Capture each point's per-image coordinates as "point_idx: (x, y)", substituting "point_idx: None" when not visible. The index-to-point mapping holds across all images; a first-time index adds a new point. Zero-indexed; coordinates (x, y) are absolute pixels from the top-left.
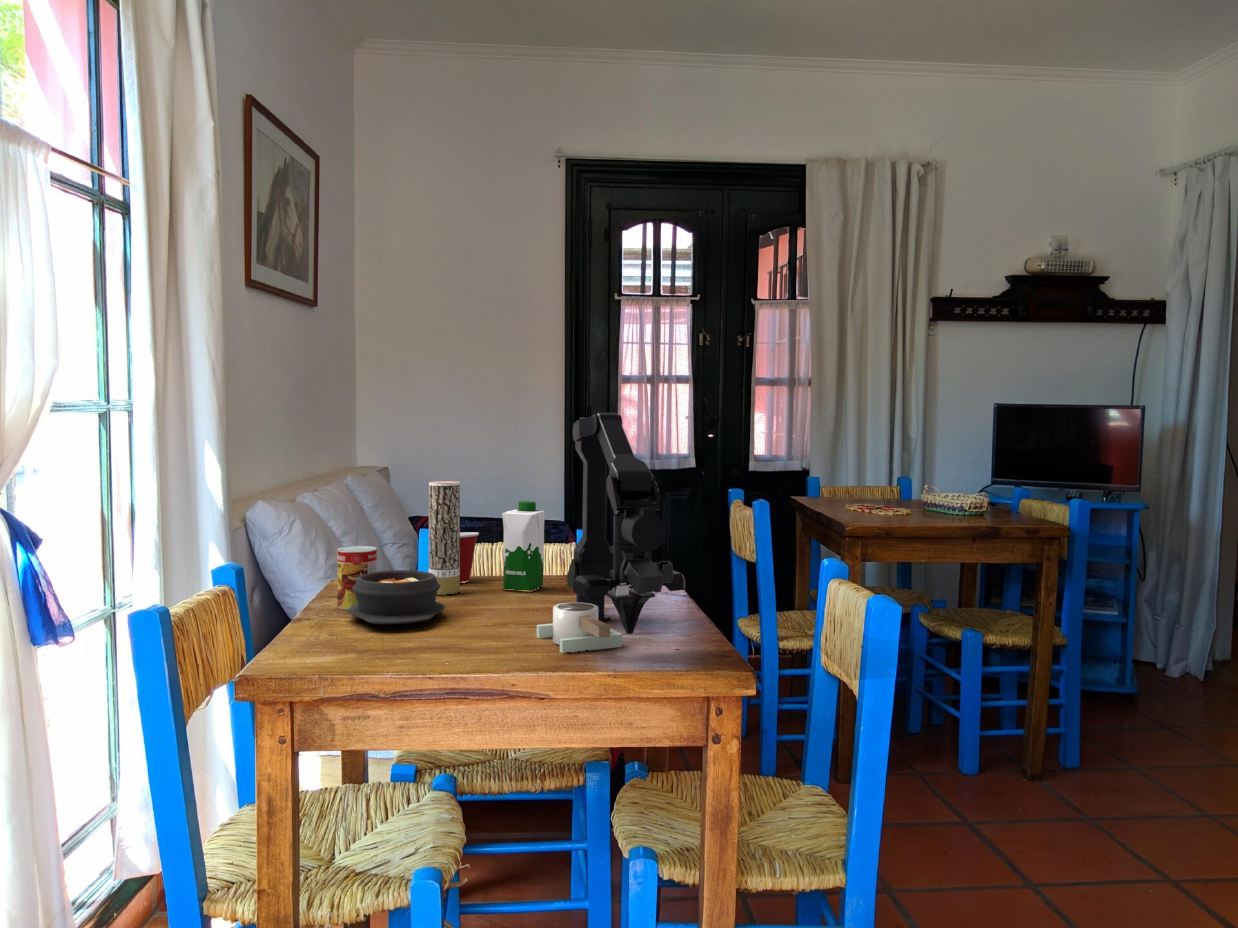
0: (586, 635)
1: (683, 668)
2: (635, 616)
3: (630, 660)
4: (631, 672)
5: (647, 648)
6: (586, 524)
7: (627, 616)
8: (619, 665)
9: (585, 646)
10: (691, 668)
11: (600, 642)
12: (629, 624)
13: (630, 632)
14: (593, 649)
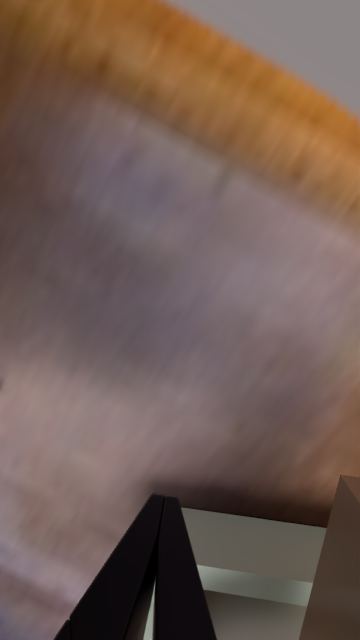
0: (288, 617)
1: (97, 121)
2: (111, 611)
3: (233, 341)
4: (341, 174)
5: (86, 444)
6: None
7: (194, 636)
8: (317, 300)
9: (314, 542)
10: (65, 103)
11: (250, 543)
12: (171, 549)
13: (166, 498)
14: (274, 521)
